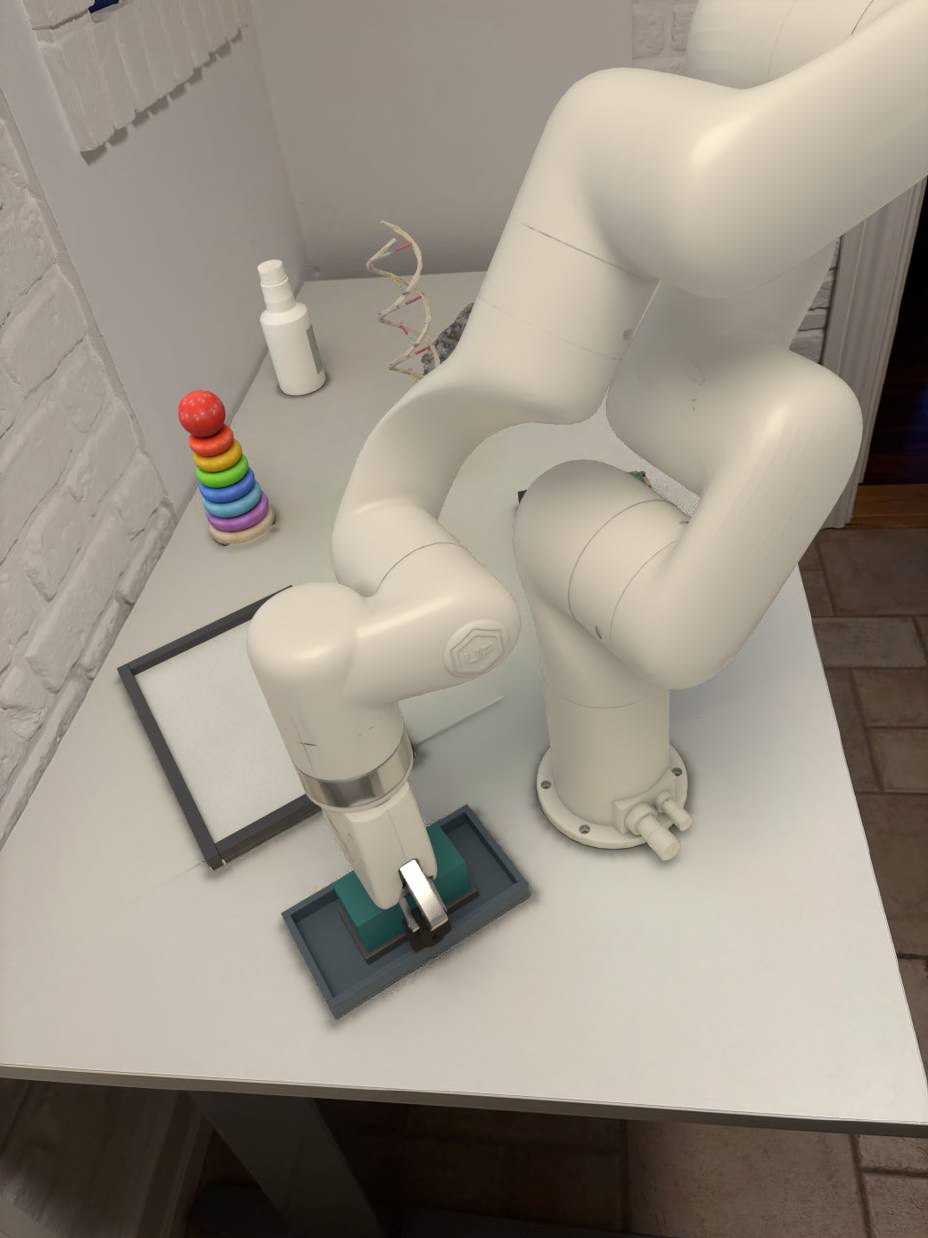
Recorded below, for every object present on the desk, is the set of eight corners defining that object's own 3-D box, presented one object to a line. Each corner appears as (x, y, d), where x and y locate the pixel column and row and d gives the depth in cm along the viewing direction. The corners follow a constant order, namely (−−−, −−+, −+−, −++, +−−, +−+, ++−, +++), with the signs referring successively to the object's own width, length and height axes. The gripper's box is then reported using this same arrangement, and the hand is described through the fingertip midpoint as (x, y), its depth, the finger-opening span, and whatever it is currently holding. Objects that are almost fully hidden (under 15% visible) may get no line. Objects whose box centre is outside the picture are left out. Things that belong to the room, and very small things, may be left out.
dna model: (466, 473, 118) (426, 230, 97) (417, 489, 117) (367, 247, 96) (448, 446, 123) (407, 210, 102) (401, 462, 122) (350, 226, 101)
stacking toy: (198, 541, 115) (141, 406, 102) (238, 502, 120) (188, 368, 107) (250, 554, 112) (197, 416, 99) (288, 514, 117) (243, 377, 104)
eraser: (368, 966, 72) (353, 933, 69) (340, 916, 75) (325, 882, 72) (480, 896, 75) (471, 861, 72) (448, 851, 78) (438, 816, 75)
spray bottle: (335, 376, 140) (304, 256, 128) (306, 399, 136) (272, 278, 124) (300, 368, 143) (267, 251, 131) (271, 391, 140) (234, 272, 127)
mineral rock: (425, 396, 133) (412, 329, 126) (429, 358, 140) (417, 293, 133) (517, 385, 131) (510, 317, 124) (516, 347, 139) (509, 281, 132)
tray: (530, 897, 75) (528, 883, 73) (335, 1020, 70) (329, 1008, 68) (470, 817, 81) (467, 803, 80) (287, 925, 76) (280, 913, 75)
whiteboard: (416, 757, 86) (413, 745, 85) (212, 872, 81) (205, 860, 79) (295, 596, 105) (291, 584, 104) (122, 679, 99) (116, 668, 98)
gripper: (250, 699, 66) (311, 837, 78) (359, 878, 55) (412, 1010, 66) (346, 650, 69) (391, 792, 80) (470, 813, 57) (502, 951, 69)
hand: (400, 890), depth 73 cm, fingers open, 9 cm apart
